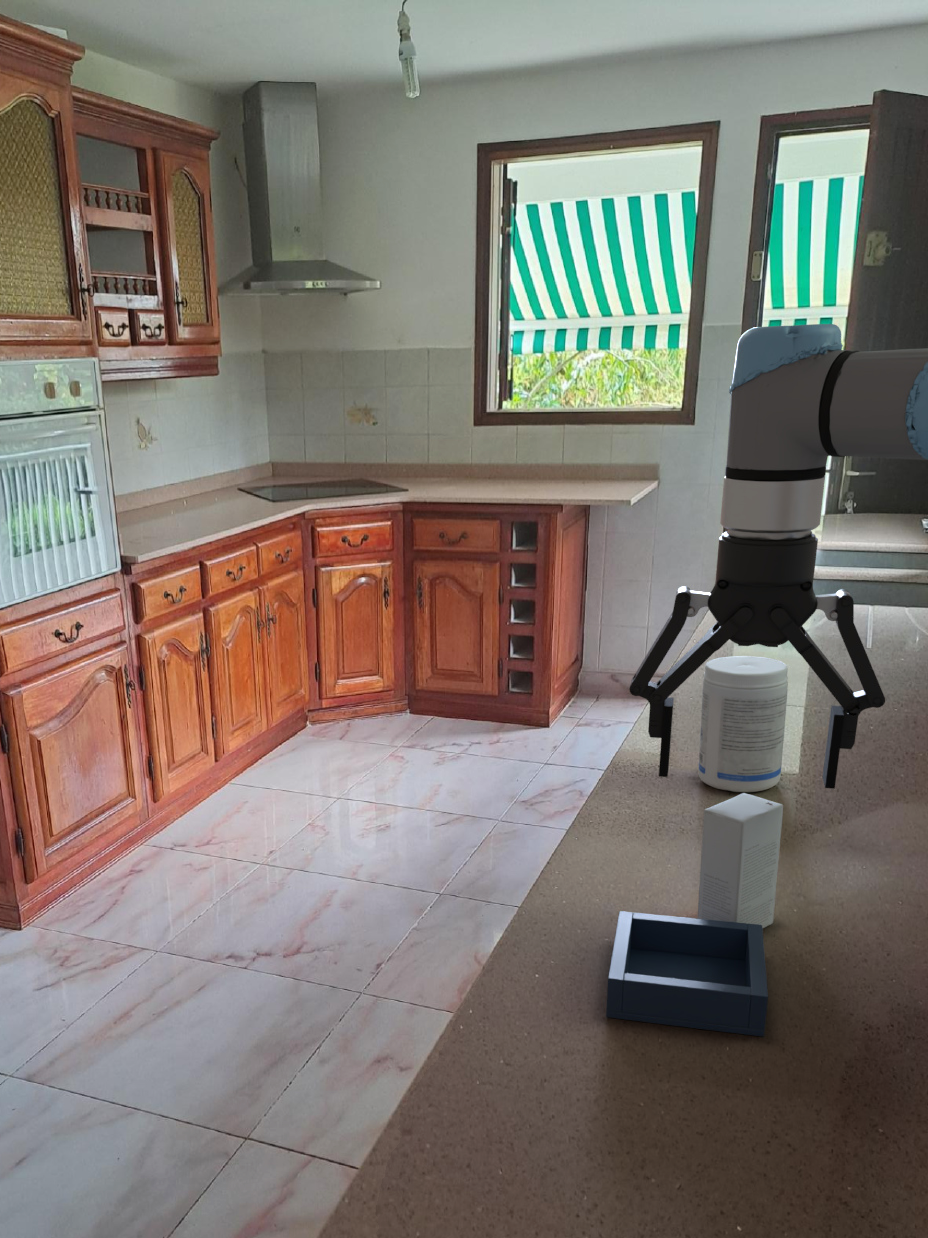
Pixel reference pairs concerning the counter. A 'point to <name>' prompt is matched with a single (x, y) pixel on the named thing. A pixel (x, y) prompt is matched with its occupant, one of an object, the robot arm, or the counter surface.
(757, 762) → the supplement tub
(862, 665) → the robot arm
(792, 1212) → the counter surface
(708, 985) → the holder
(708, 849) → the cosmetic box
